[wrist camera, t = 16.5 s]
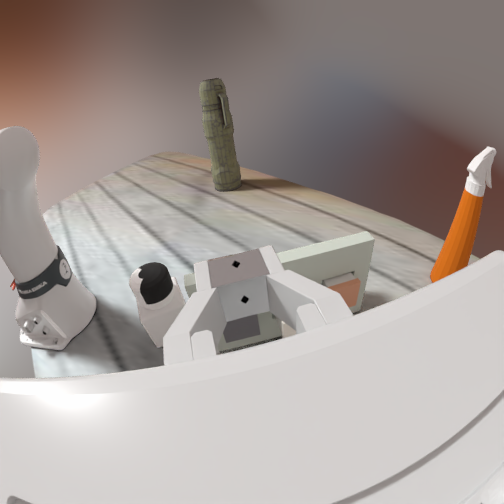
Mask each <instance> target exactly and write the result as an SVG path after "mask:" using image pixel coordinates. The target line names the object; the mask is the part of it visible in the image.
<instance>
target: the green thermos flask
mask: <svg viewBox="0 0 504 504" xmlns="http://www.w3.org/2000/svg"><path fill="white" fill-rule="evenodd" d="M199 94H200V99H201V105H202V109H203V118H202V123H203V128H204V133H205V137H206V139H207V141H208V146H209V152H210V157H211V163H212V166H211V172H212V177H213V182H214V183H215V189H216V190H217V191H223V192H224V191H231V190H235V189H237V188H239V187H240V186H241V184H242V183H241V173H240V167H239V164H238V162H237V159H236V152H235V146H234V140H233V132H234V129H233V122H232V115H231V113H230V111H229V104H228V97H227V95H226V89H225V85H224V83H223V82H222V80H221V79H219V78H215V79H210V80H204V81H203V82H201V83H200V88H199Z"/></svg>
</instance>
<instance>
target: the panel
mask: <svg viewBox="0 0 504 504" xmlns="http://www.w3.org/2000/svg"><path fill="white" fill-rule="evenodd" d="M374 240H375V239H374V238H373V237H372V236H371V235H370V234H369V233H368V232H367V231H365V232H361V233H357V234H353V235H349V236H345V237H341V238H337V239H333V240H329V241H325V242H320V243H316V244H312V245H308V246H304V247H300V248H296V249H292V250H288V251H284V252H279V253H276V254H277V256H278V258H279V260H280V262H281V264H282V266H283V267H284V269H285V270H291V271H293V272H295V273H297V274H299V275H301V276H304V277H306V278H308V279H310V280H312V281H314V282H316V283H318V284H321V285H322V280H324V279H328V278H331V277H335V276H338V275H342V274H345V273H348V272H351V273H352V274H353V275H354V277H355V278H358V279H359V280H360V281H361V284H360V288H359V293H358V298H357V302H356V305H355V306H352V307H349V309H350V310H351V312H352V313H355V312H357V311H360V308H361V304H362V300H363V295H364V291H365V287H366V282H367V277H368V273H369V268H370V262H371V257H372V252H373V246H374ZM184 283H185V289H186V291H187V294H188V296H189V298H190V297H191V295H192V294H193V293H194V292H197V289H196V280H195V273H191V274H187V275H184ZM257 316H258V322H259V328H260V334H261V335H257V336H253V337H249V338H245V339H241V340H237V341H233V342H228V343H226V341H225V338H224V335H223V334H222V336H221V339H220V341H219V344H218V346H217V347H218V349H219V352H220V351H224V350H228V349H233V348H237V347H241V346H245V345H249V344H253V343H257V342H261V341H264V340H268V339H272V338H275V337H279V336H282V333H281V330H280V328H279V325H278V323H277V320H276V318H275V315H274V314H272V313H271V312H270V311H268V312H264V313H259V314H257Z"/></svg>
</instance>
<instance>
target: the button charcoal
mask: <svg viewBox="0 0 504 504" xmlns="http://www.w3.org/2000/svg"><path fill="white" fill-rule="evenodd" d="M223 335H224V338H225V341H226V343H228V342H233V341H237V340H241V339H245V338H249V337H253V336H257V335H261V334H260V328H259V322H258V316H257V314H255V315H251V316H246V317H243V318H239V319H236V320H232V321H228V322H227V324H226V326H225V329H224V331H223Z"/></svg>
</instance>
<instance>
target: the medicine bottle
mask: <svg viewBox="0 0 504 504" xmlns="http://www.w3.org/2000/svg"><path fill="white" fill-rule="evenodd" d="M129 285H130V288H131V289H132V291H133V293H134V295H135V297H136V300H137V306H138V312H139V318H140V322H141V323H142V325H143V327H144V328H145V330H146V331H147V333H148V334H149V336H150V338H151V339H152V341H153V342H154V344H155V345H156V347H157V348H160V347H162V346H163V337H164V336H165V334H166V333H167V331H168V330H169V328H170V327H171V325H172V324H173V322H174V321H175V319H176V318H177V316H178V315H179V313H180V312H181V310H182V309H183V307H184V306H185V304H186V302H185V300H184V298H183V295H182V293H181V290H180V288H179V285H178V283H177V280H176V278H175V277H170V274H169V272H168V269H167V267H166V266H165V265H163V264H161V263H156V262H153V263H148V264H145V265H143V266H141V267H139V268H138V269H136V270H135V271H134V272H133V274H132V275H131V277H130V280H129Z"/></svg>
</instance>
